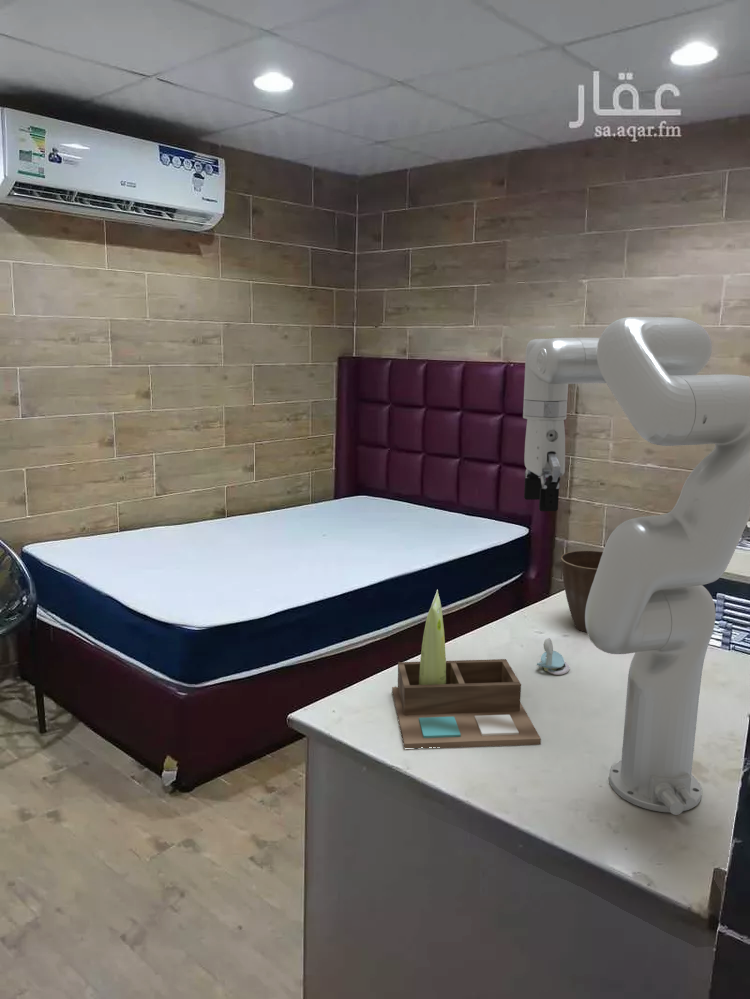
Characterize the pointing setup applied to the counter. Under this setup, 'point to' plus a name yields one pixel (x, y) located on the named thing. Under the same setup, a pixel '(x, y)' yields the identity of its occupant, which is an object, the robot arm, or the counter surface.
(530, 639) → the counter surface
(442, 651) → the tube
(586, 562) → the plant pot
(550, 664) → the pacifier
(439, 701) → the brown wooden desk organizer
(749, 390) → the robot arm
